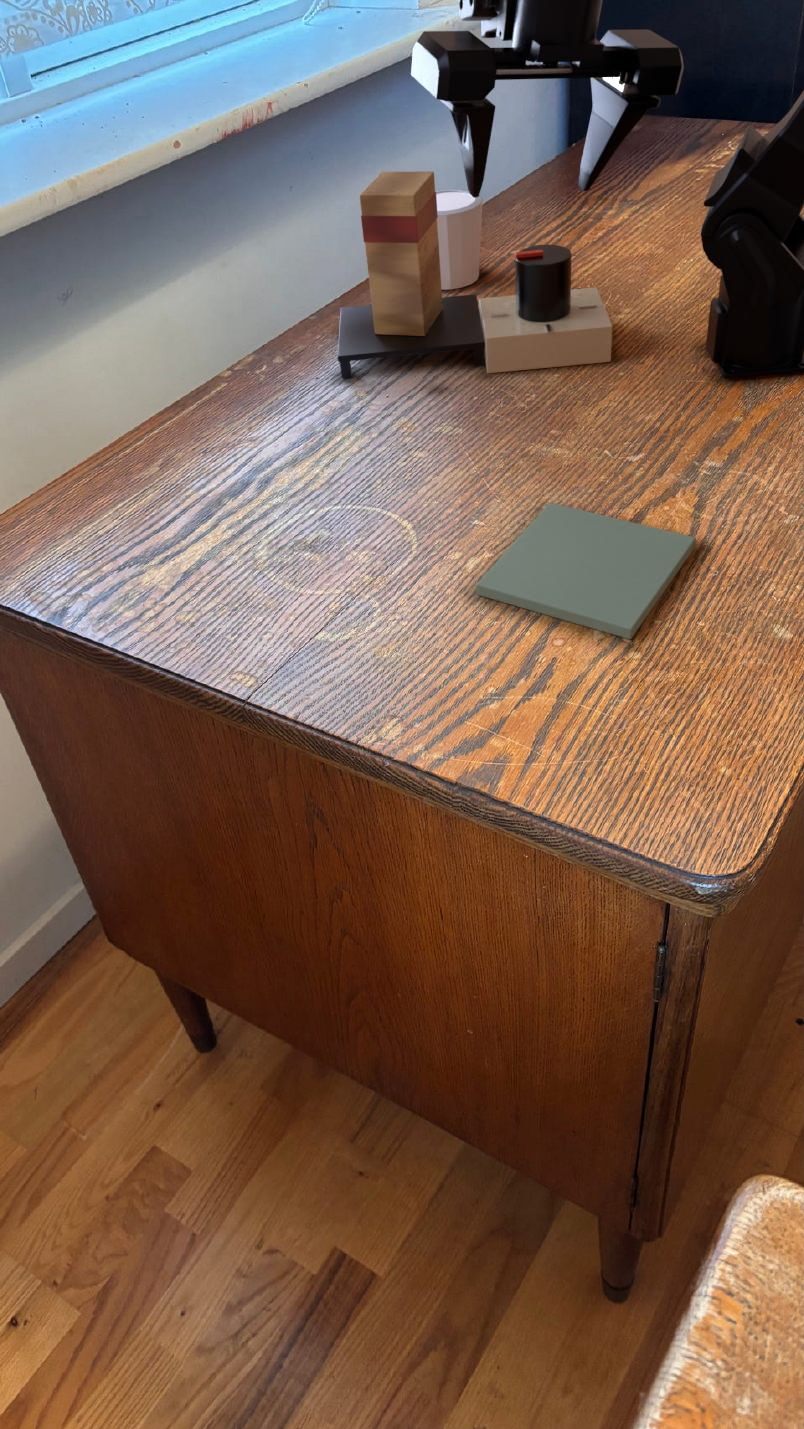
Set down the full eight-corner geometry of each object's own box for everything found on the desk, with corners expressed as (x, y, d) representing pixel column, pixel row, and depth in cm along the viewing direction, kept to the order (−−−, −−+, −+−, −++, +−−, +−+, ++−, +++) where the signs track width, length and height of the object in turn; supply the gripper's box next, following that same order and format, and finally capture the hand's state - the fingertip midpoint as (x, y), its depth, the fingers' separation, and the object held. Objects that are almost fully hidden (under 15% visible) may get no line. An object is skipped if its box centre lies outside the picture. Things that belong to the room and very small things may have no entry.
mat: (549, 512, 70) (549, 501, 69) (695, 547, 65) (696, 537, 65) (476, 595, 64) (475, 584, 63) (630, 640, 59) (631, 629, 59)
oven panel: (595, 320, 91) (596, 283, 88) (611, 363, 84) (613, 325, 82) (479, 331, 91) (478, 295, 89) (487, 375, 85) (486, 337, 83)
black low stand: (477, 316, 93) (476, 294, 92) (485, 365, 86) (484, 342, 85) (343, 329, 94) (340, 307, 93) (340, 379, 87) (337, 356, 85)
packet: (443, 308, 90) (434, 171, 83) (425, 337, 87) (414, 195, 79) (394, 307, 92) (381, 171, 84) (374, 335, 88) (358, 195, 80)
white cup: (403, 290, 99) (396, 212, 95) (429, 262, 104) (423, 187, 99) (471, 294, 97) (467, 215, 92) (495, 266, 102) (492, 189, 97)
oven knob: (566, 297, 87) (567, 238, 84) (574, 319, 84) (575, 258, 81) (513, 303, 87) (512, 243, 84) (519, 324, 84) (518, 263, 81)
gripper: (635, -82, 76) (590, 149, 87) (393, -89, 71) (379, 158, 82) (715, -45, 69) (655, 201, 80) (453, -49, 64) (428, 215, 75)
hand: (529, 192), depth 80 cm, fingers open, 9 cm apart
